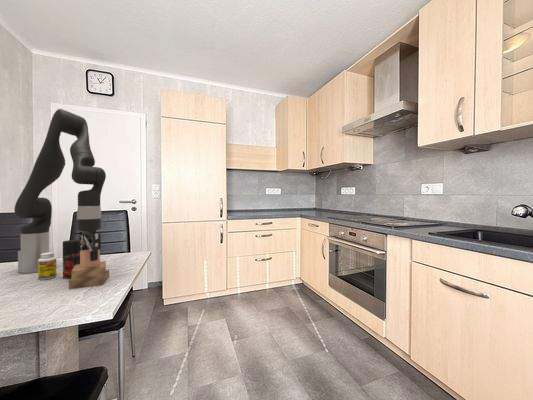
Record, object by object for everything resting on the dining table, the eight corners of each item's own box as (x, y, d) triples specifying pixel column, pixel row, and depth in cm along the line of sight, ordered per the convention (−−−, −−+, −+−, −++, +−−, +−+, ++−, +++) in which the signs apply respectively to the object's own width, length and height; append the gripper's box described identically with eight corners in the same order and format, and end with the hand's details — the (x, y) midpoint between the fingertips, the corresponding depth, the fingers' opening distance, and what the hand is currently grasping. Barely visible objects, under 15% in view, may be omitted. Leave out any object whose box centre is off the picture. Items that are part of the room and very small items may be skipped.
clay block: (84, 268, 87) (84, 252, 87) (80, 266, 90) (79, 250, 90) (99, 265, 91) (99, 250, 91) (95, 263, 94) (95, 248, 94)
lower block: (68, 290, 84) (68, 280, 84) (79, 281, 93) (79, 272, 93) (101, 286, 87) (101, 277, 87) (109, 278, 96) (109, 269, 96)
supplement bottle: (36, 281, 91) (36, 255, 91) (39, 277, 96) (39, 252, 96) (54, 278, 94) (54, 253, 94) (57, 275, 99) (57, 251, 99)
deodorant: (84, 275, 99) (84, 240, 99) (68, 279, 93) (68, 242, 93) (75, 273, 101) (75, 239, 101) (59, 278, 95) (59, 241, 95)
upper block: (71, 281, 83) (71, 271, 83) (75, 273, 91) (74, 264, 91) (105, 275, 89) (105, 266, 89) (105, 269, 97) (105, 261, 97)
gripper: (108, 217, 89) (108, 259, 89) (93, 216, 97) (93, 254, 97) (84, 219, 83) (85, 264, 83) (70, 217, 91) (71, 258, 91)
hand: (89, 259), depth 90 cm, fingers open, 8 cm apart
